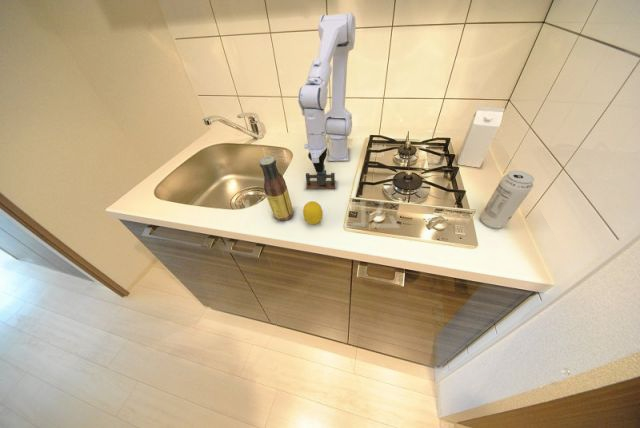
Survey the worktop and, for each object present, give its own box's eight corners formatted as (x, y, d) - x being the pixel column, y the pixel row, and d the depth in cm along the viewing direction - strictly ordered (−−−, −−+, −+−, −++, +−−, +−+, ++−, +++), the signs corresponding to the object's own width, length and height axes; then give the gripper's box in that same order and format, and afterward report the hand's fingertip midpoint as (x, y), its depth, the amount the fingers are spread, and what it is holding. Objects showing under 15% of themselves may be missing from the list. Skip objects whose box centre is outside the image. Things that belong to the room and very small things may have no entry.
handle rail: (307, 182, 82) (306, 170, 78) (335, 182, 81) (335, 170, 77) (306, 189, 79) (304, 177, 76) (335, 189, 78) (334, 177, 74)
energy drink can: (507, 231, 59) (542, 185, 49) (481, 228, 61) (509, 182, 50) (501, 215, 63) (531, 170, 53) (477, 213, 65) (502, 168, 54)
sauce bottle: (285, 205, 74) (271, 149, 60) (297, 214, 70) (286, 157, 56) (269, 216, 71) (250, 160, 57) (281, 226, 67) (264, 168, 53)
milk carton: (458, 155, 87) (478, 103, 74) (479, 158, 84) (504, 104, 71) (457, 164, 83) (478, 110, 69) (479, 168, 80) (506, 113, 67)
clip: (318, 178, 80) (316, 162, 75) (326, 178, 80) (325, 162, 75) (317, 184, 77) (315, 168, 73) (325, 184, 77) (324, 168, 73)
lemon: (321, 230, 65) (319, 210, 59) (302, 228, 66) (298, 208, 60) (325, 217, 68) (323, 196, 63) (307, 215, 70) (304, 195, 64)
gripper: (305, 121, 72) (310, 159, 81) (298, 142, 61) (304, 183, 71) (328, 120, 71) (330, 158, 80) (324, 142, 61) (327, 183, 70)
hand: (319, 170), depth 75 cm, fingers closed on clip
